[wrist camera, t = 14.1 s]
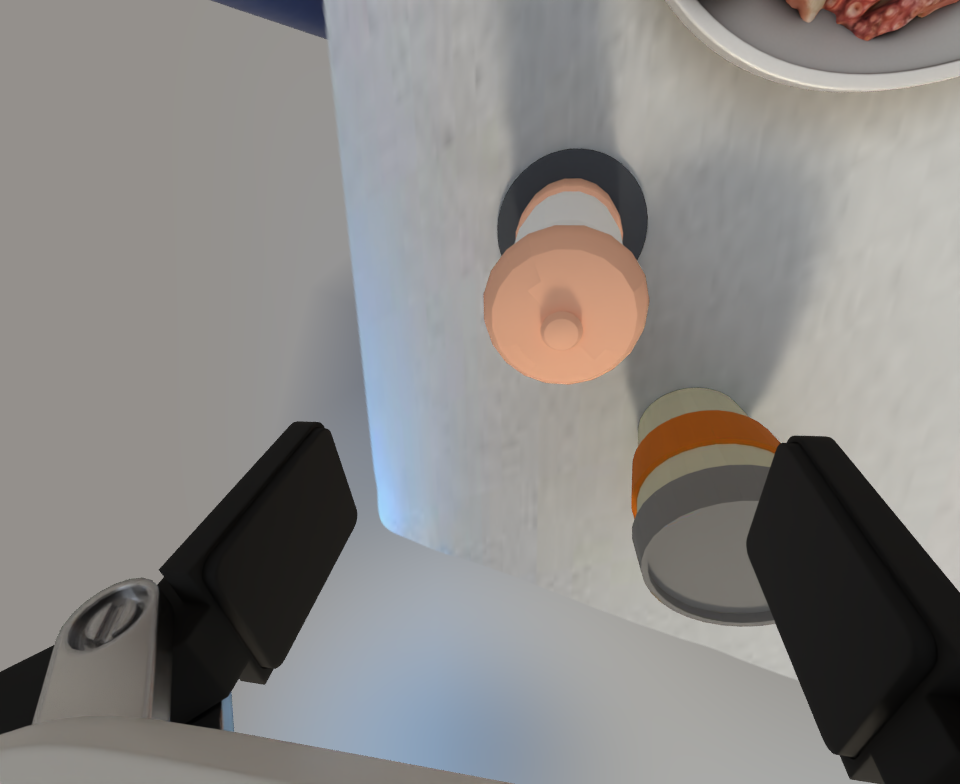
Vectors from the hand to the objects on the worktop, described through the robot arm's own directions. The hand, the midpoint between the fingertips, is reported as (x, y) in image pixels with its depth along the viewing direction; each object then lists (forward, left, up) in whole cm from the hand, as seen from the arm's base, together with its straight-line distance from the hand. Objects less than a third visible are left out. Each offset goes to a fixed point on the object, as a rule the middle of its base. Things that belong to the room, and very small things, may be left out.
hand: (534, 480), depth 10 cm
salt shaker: (0, 0, -28) cm, 28 cm away
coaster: (0, 0, -28) cm, 28 cm away
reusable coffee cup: (+11, -18, -28) cm, 35 cm away
